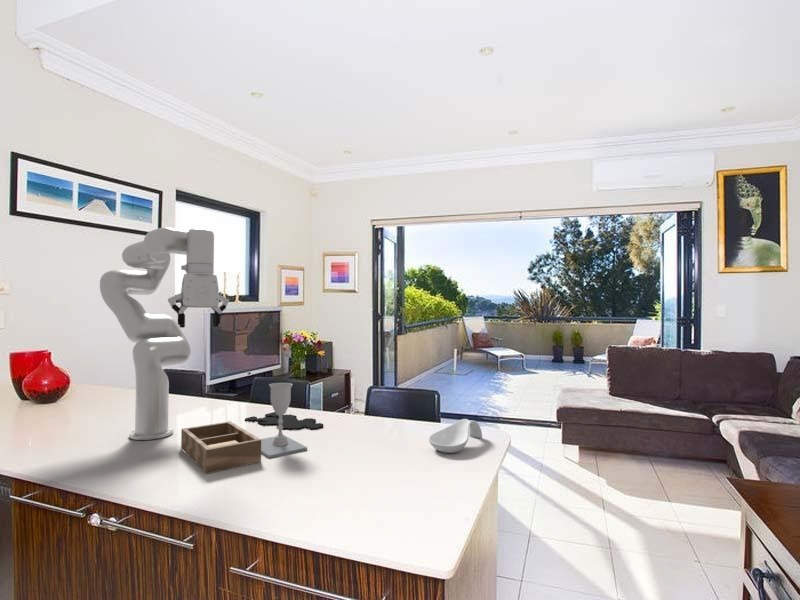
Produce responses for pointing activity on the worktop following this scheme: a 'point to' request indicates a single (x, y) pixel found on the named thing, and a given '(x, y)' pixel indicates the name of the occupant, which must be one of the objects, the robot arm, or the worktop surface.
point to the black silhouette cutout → (287, 422)
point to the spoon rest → (455, 436)
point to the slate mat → (280, 447)
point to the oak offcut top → (222, 444)
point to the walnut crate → (222, 456)
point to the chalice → (280, 407)
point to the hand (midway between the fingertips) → (199, 326)
